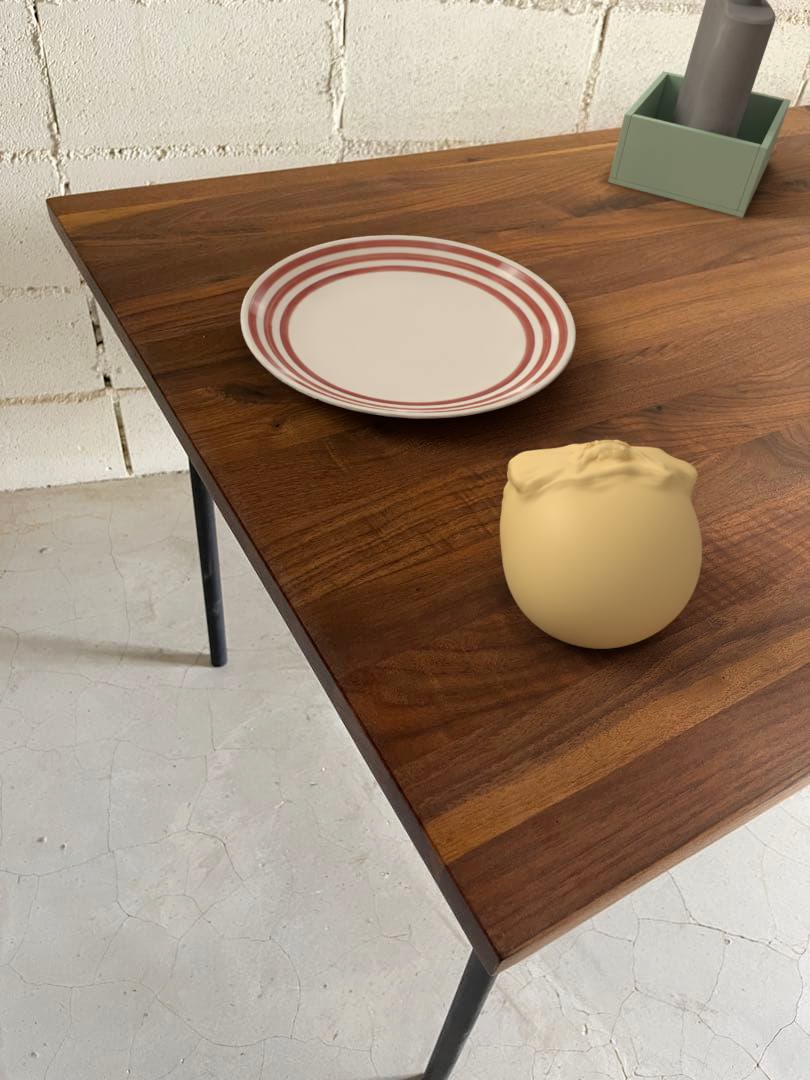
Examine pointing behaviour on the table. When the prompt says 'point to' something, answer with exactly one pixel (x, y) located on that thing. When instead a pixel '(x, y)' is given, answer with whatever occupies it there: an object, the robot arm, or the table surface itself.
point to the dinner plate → (408, 326)
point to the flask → (724, 65)
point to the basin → (695, 150)
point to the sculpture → (600, 540)
